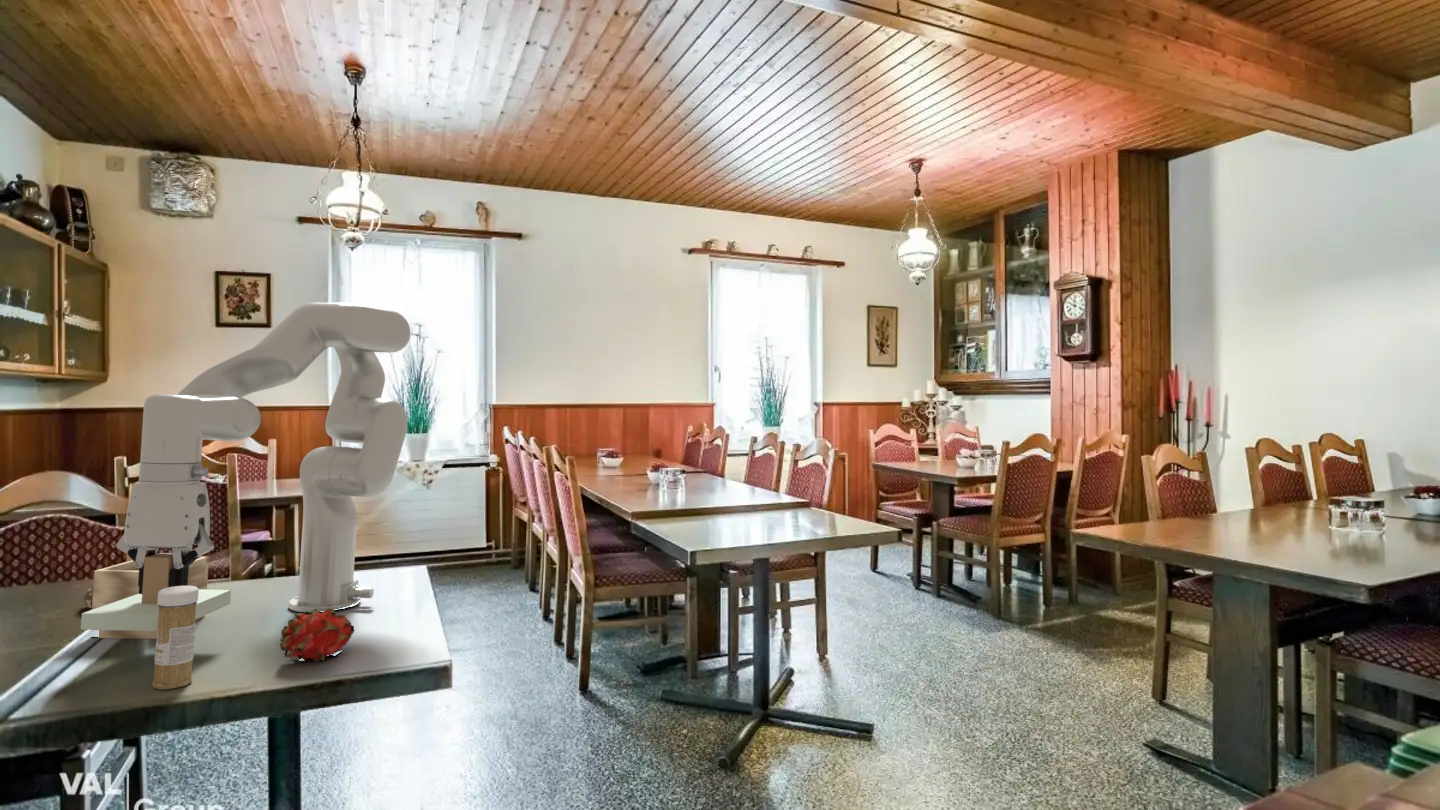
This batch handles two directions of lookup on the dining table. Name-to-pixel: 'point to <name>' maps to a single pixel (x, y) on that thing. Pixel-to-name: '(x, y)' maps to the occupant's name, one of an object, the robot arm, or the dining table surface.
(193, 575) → the pine box
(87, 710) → the dining table surface
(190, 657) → the sprinkles bottle
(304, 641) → the dragon fruit
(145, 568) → the lid
